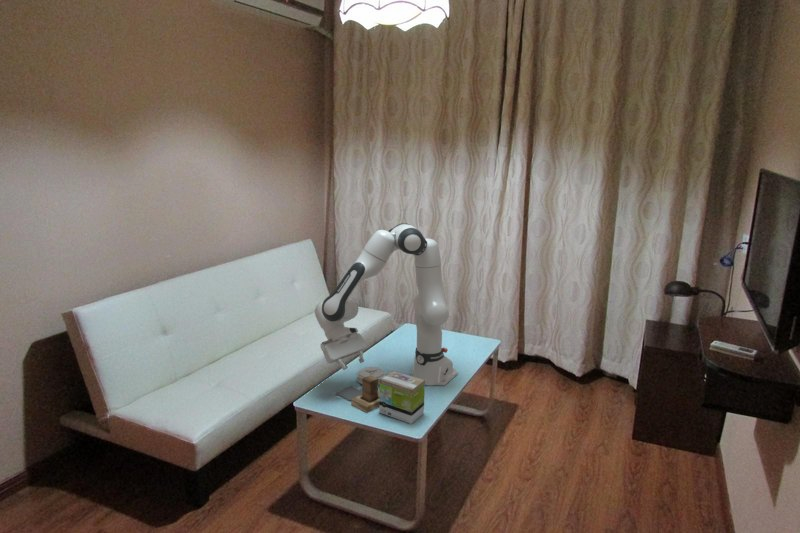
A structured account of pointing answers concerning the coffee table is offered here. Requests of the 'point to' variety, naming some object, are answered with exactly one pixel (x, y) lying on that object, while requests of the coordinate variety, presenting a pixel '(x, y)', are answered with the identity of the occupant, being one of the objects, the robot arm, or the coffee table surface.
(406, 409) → the tea box
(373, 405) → the pocket board
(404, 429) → the coffee table surface
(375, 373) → the grey round disc
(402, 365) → the coffee table surface
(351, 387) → the rubber pad
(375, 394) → the walnut block
